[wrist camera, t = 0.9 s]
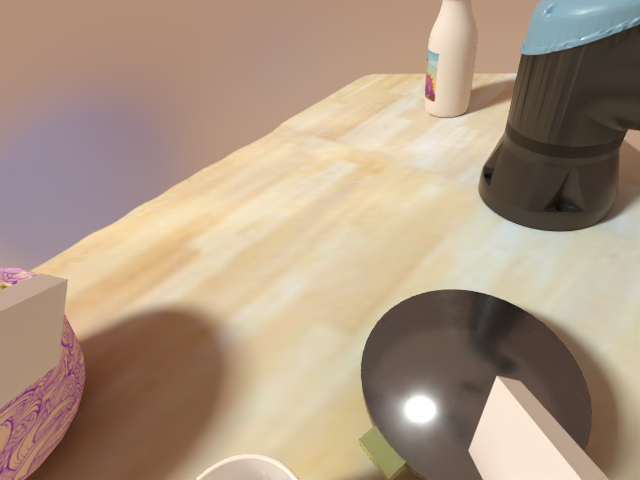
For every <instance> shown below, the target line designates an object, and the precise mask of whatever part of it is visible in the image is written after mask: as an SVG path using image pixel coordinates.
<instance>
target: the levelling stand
mask: <svg viewBox="0 0 640 480" xmlns="http://www.w3.org/2000/svg"><path fill="white" fill-rule="evenodd" d="M496 376H500V377H504V378H509V379H513V380H518V381H521V382H522V383H523V385H524V386H525V387H526V388H527V389H528V390H529V391H530V392H531V393H532V395H533V396H534V397H535V398H536V399H537V400H538V401H539V402H540V403H541V405H542V406H543V407H544V408H545V409H546V410H547V411H548V412H549V413H550V414H551V416H552V417H553V418H554V419H555V420H556V421H557V422H558V423H559V424H560V426H561V427H562V428H563V429H564V430H565V431H566V432H567V433H568V434H569V436H570V437H571V438H572V439H573V440H574V441H575V442H576V443H577V444H578V445H579V447H580V448H581V449H582V450H583V451H584V449H585V447H586V445H587V442H588V439H589V434H590V429H591V414H592V411H591V403H590V396H589V393H588V389H587V385H586V382H585V380H584V377H583V375H582V373H581V370H580V368H579V366H578V365H577V363H576V361H575V360H574V358H573V356H572V355H571V353H570V352H569V351H568V349H567V348H566V347H565V345H564V344H563V343H562V342H561V341H560V339H559V338H558V337H557V336H556V335H555V334H554V333H553V332H552V331H551V330H550V329H549V328H547V327H546V326H545V325H544V324H543V323H542V322H540V321H539V320H538V319H536V318H535V317H534V316H532V315H531V314H529V313H528V312H526V311H524V310H523V309H521V308H519V307H517V306H515V305H513V304H511V303H509V302H507V301H505V300H502V299H499V298H497V297H494V296H491V295H487V294H484V293H479V292H474V291H468V290H437V291H430V292H426V293H422V294H419V295H416V296H413V297H410V298H408V299H406V300H404V301H402V302H400V303H399V304H397V305H396V306H394V307H393V308H391V309H390V310H389V311H388V312H387V313H386V314H384V315H383V317H382V318H381V319H380V320H379V321H378V322H377V324H376V325H375V327H374V328H373V330H372V331H371V333H370V335H369V337H368V339H367V341H366V345H365V348H364V351H363V356H362V362H361V380H362V388H363V396H364V401H365V405H366V409H367V412H368V415H369V417H370V420H371V422H372V425H373V428H372V429H370V430H369V431H368V432H367V433H366V434H365V435H363V436H362V437H361V438H360V439H359V442H360V446H361V447H362V449H363V450H364V451H365V452H366V454H367V455H368V456H369V458H370V459H371V460H372V462H373V463H374V464H375V466H376V467H377V468H378V470H379V471H380V472H381V474H382V475H383V476H384V478H385V479H386V480H393V479H394V478H395V477H397V476H398V475H399V474H400V473H401V472H402V471H403V470H404V469H405V468H406V469H407V470H409V471H410V472H411V473H412V474H413V475H415V476H416V477H418V478H419V479H421V480H483V479H482V477H481V475H480V473H479V471H478V469H477V467H476V465H475V463H474V461H473V459H472V457H471V455H470V453H469V451H468V450H469V448H470V445H471V442H472V440H473V437H474V434H475V432H476V429H477V426H478V424H479V421H480V419H481V416H482V413H483V411H484V408H485V405H486V403H487V400H488V397H489V395H490V392H491V390H492V387H493V384H494V382H495V379H496Z"/></svg>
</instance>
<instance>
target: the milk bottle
mask: <svg viewBox="0 0 640 480" xmlns="http://www.w3.org/2000/svg"><path fill="white" fill-rule="evenodd" d="M477 37H478V35H477V27H476V23H475V20H474V17H473V12H472V7H471V0H443V3H442V7H441V10H440V13H439V16H438V19H437V20H436V22H435V25H434V27H433V29H432V32H431V35H430V40H429V45H428V55H427V70H426V86H425V110H426V112H427V113H428V114H430V115H432V116H436V117H444V118H445V117H455V116H458V115H461V114H463V113H464V112H466V110H467V109H468V107H469V101H470V94H471V88H472V80H473V73H474V66H475V58H476V50H477Z"/></svg>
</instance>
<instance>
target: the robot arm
mask: <svg viewBox="0 0 640 480" xmlns="http://www.w3.org/2000/svg"><path fill="white" fill-rule="evenodd" d="M521 53H522V55H521V60H520V64H519V69H518V74H517V78H516V83H515V87H514V92H513V97H512V101H511V106H510V110H509V115H508V120H507V124H506V128H505V132H504V134H503V136H502V137H501V139H500V140H499V142H498V144H497V145H496V147H495V149H494V150H493V152H492V153H491V155H490V157H489V158H488V160H487V161H486V163H485V165H484V166H483V169H482V172H481V176H480V181H479V193H480V196H481V198H482V200H483V201H484V203H485V204H486V205H487V206H488V207H489V208H490V209H491V210H493V211H494V212H495V213H497V214H498V215H500V216H502V217H503V218H505V219H507V220H510V221H512V222H514V223H517V224H520V225H523V226H527V227H531V228H536V229H542V230H553V231H565V230H575V229H580V228H584V227H588V226H591V225H593V224H595V223H597V222H599V221H600V220H602V219H603V218H604V217H605V216H606V215H607V214H608V212H609V211H610V209H611V207H612V205H613V203H614V201H615V199H616V196H617V192H618V175H619V148H620V146H621V143H622V141H623V139H624V137H625V135H626V132H627V131H628V129H631V130H639V131H640V0H541V1H540V2H539V3H538V4H537V6H536V7H535V9H534V11H533V14H532V17H531V20H530V24H529V28H528V31H527V35H526V38H525V41H524V42H523V44H522V46H521ZM67 281H68V280H67V279H63V278H59V277H54V276H50V275H45V274H39V275H36V276H34V277H31V278H29V279H27V280H24V281H22V282H19V283H17V284H14V285H12V286H9V287H7V288H4V289H2V290H0V409H1V408H2V407H4V406H5V405H6V404H7V403H9V402H10V401H11V400H13V399H14V398H15V397H16V396H18V395H19V394H20V393H21V392H23V391H24V390H25V389H27V388H28V387H29V386H30V385H32V384H33V383H34V382H36V381H37V380H38V379H39V378H41V377H42V376H43V375H45V374H46V373H47V372H48V371H50V370H51V369H52V368H54V367H55V366H56V365H57V364H59V357H60V348H61V338H62V329H63V319H64V310H65V300H66V291H67ZM468 451H469V453H470V455H471V457H472V459H473V461H474V463H475V465H476V467H477V469H478V471H479V473H480V475H481V477H482V479H483V480H609V479H608V478H607V477H606V475H605V474H604V473H603V472H602V471H601V470H600V469H599V468H598V467H597V465H596V464H595V463H594V462H593V461H592V460H591V459H590V458H589V457H588V455H587V454H586V453H585V452H584V451H583V450H582V449H581V448H580V447H579V445H578V444H577V443H576V442H575V441H574V440H573V439H572V438H571V437H570V436H569V434H568V433H567V432H566V431H565V430H564V429H563V428H562V427H561V426H560V424H559V423H558V422H557V421H556V420H555V419H554V418H553V417H552V416H551V414H550V413H549V412H548V411H547V410H546V409H545V408H544V407H543V406H542V405H541V403H540V402H539V401H538V400H537V399H536V398H535V397H534V396H533V395H532V393H531V392H530V391H529V390H528V389H527V388H526V387H525V386H524V385H523V383H522V382H521V381H518V380H513V379H509V378H504V377H500V376H496V379H495V382H494V384H493V387H492V390H491V392H490V395H489V397H488V400H487V403H486V405H485V408H484V411H483V413H482V416H481V419H480V421H479V424H478V426H477V429H476V432H475V434H474V437H473V440H472V442H471V445H470V448H469V450H468Z"/></svg>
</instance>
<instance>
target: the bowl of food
mask: <svg viewBox="0 0 640 480" xmlns="http://www.w3.org/2000/svg"><path fill="white" fill-rule="evenodd" d="M36 275H37V274H35V273H32V272H29V271H26V270H24V269H21V268H0V290H2V289H4V288H7V287H9V286H12V285H14V284H17V283H19V282H22V281H24V280H27V279H29V278H31V277H34V276H36ZM85 378H86V375H85V364H84V355H83V352H82V350H81V347H80V344H79V342H78V340H77V338H76V336H75V334H74V331H73V329H72V328H71V326H70V324H69V322H68V320H67V318H66V316H65V314H64V319H63V329H62V338H61V348H60V357H59V364H57V365H56V366H55V367H54V368H52V369H51V370H50V371H48V372H47V373H46V374H45V375H43V376H42V377H41V378H39V379H38V380H37V381H36V382H34V383H33V384H32V385H30V386H29V387H28V388H27V389H25V390H24V391H23V392H21V393H20V394H19V395H18V396H16V397H15V398H14V399H13V400H11V401H10V402H9V403H7V404H6V405H5V406H4V407H2V408H1V409H0V480H25V479H26V478H27V477H28V476H29V475H31V474H32V473H33V472H34V471H35V470H36V469H38V468H39V467H40V465H41V464H42V463H43V462H44V461H45V459H46V458H47V457H48V456H49V455H50V453H51V452H52V451H53V450H54V449H55V447H56V446H57V445H58V444H59V443H60V441H61V440H62V439H63V437H64V435H65V433H66V432H67V430H68V428H69V426H70V424H71V422H72V421H73V419H74V417H75V415H76V413H77V411H78V407H79V404H80V400H81V396H82V393H83V389H84V384H85Z"/></svg>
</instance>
